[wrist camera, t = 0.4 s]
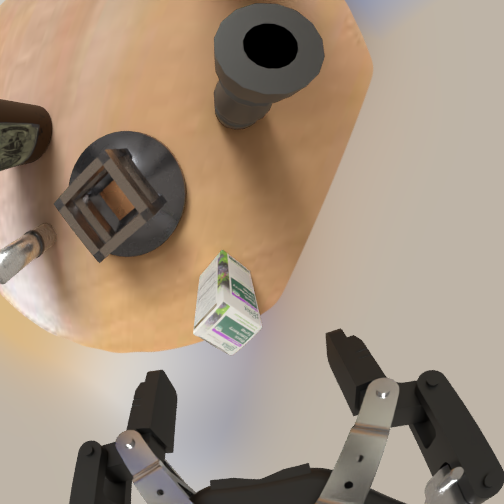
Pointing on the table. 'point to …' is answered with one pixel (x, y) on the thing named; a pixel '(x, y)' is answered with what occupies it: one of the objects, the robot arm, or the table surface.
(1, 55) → the table surface
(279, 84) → the candle holder
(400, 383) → the robot arm
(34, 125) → the olive oil
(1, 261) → the silver metal bottle
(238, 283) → the syrup box
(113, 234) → the collar stand
